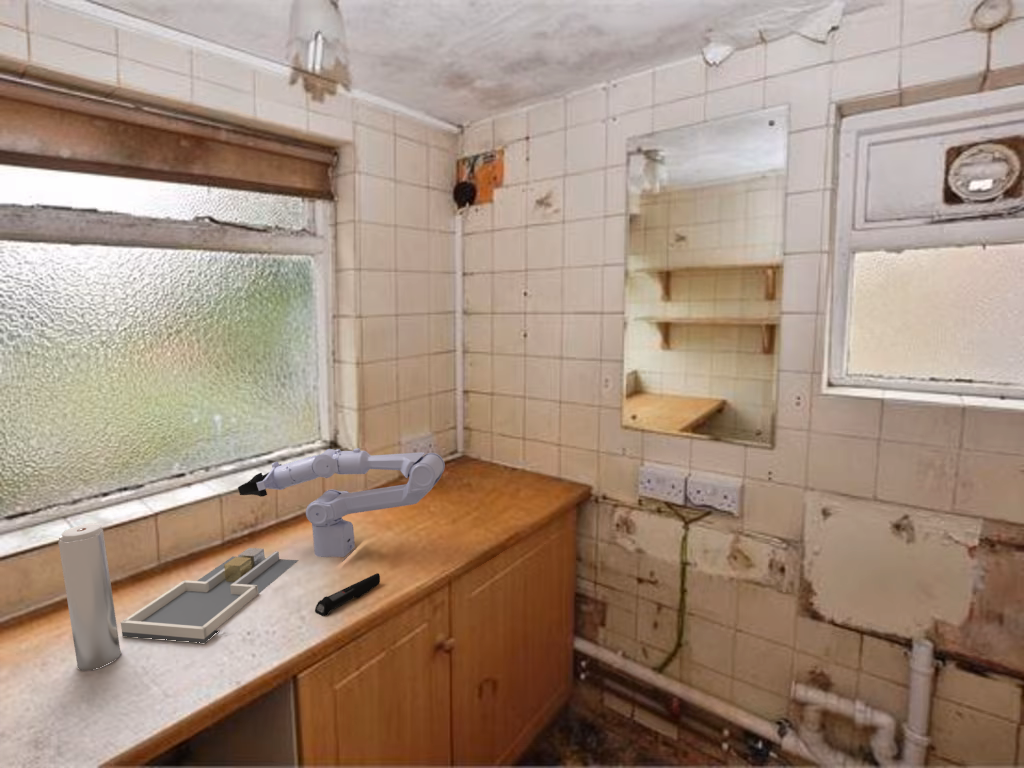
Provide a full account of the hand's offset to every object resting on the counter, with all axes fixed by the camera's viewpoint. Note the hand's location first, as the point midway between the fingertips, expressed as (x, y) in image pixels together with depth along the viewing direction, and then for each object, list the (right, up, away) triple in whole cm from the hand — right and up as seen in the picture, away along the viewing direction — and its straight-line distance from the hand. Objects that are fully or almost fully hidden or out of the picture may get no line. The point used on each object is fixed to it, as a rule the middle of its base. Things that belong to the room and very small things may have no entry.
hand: (248, 486), depth 145 cm
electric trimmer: (+32, -21, -22) cm, 44 cm away
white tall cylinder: (-8, -24, -41) cm, 48 cm away
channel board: (+3, -21, -19) cm, 28 cm away
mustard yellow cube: (+4, -19, -13) cm, 23 cm away
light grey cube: (+5, -18, -8) cm, 20 cm away
